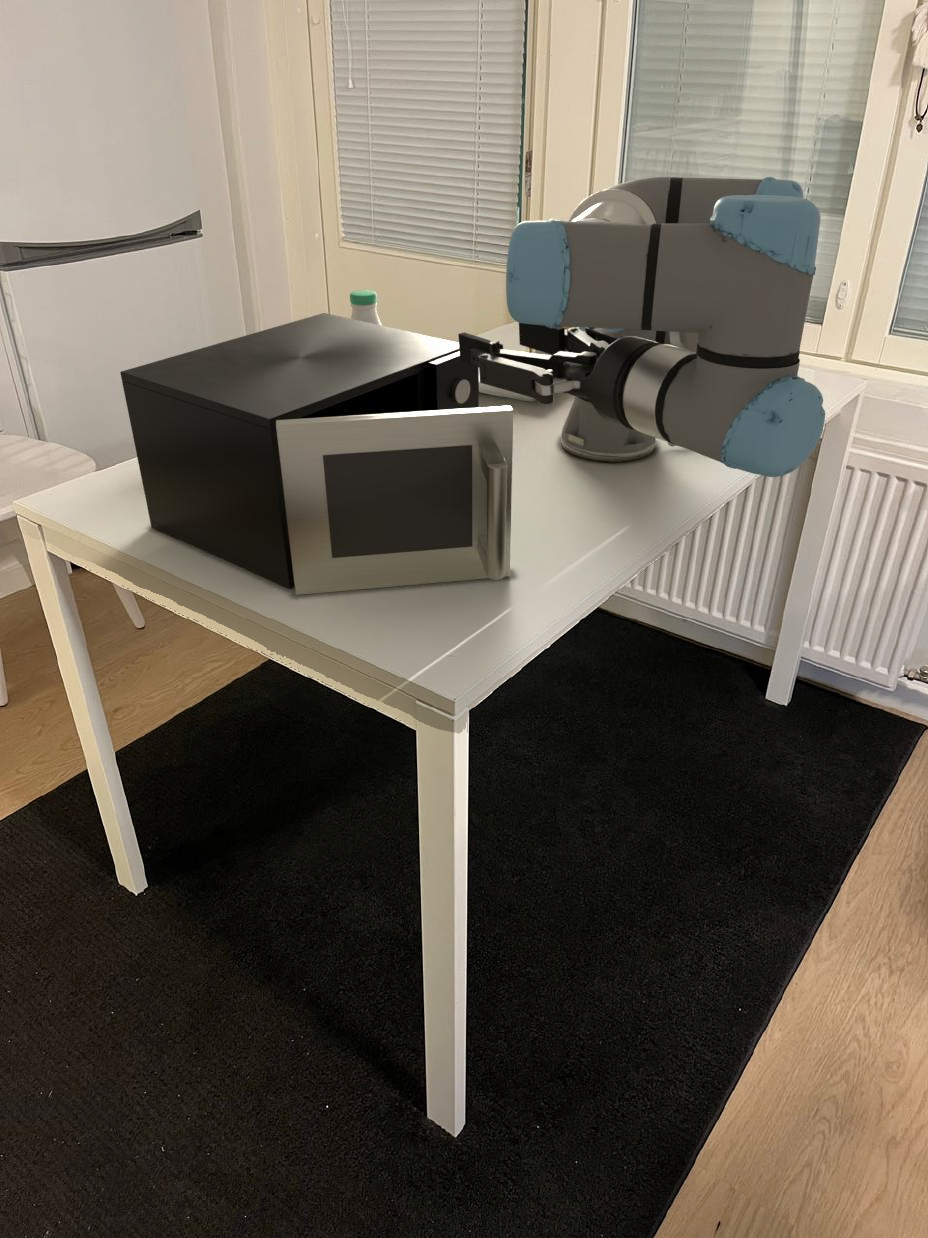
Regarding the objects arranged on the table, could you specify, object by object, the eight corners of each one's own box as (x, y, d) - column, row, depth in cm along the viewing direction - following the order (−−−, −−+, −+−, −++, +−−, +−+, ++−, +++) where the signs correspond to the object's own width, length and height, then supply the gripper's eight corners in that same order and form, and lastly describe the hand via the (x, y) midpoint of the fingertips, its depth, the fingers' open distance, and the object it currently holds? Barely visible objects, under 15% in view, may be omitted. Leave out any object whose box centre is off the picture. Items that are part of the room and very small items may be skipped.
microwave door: (521, 605, 114) (527, 432, 102) (296, 626, 110) (275, 449, 98) (507, 570, 121) (510, 405, 109) (295, 588, 117) (276, 420, 106)
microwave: (482, 497, 140) (483, 347, 128) (303, 596, 116) (284, 423, 104) (335, 449, 156) (324, 312, 144) (151, 527, 132) (119, 371, 120)
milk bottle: (341, 409, 172) (332, 295, 161) (360, 395, 178) (353, 285, 167) (379, 414, 169) (373, 299, 159) (398, 400, 176) (393, 289, 165)
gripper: (561, 460, 79) (414, 397, 95) (728, 402, 88) (567, 353, 104) (560, 371, 75) (407, 321, 91) (734, 320, 84) (566, 282, 100)
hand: (492, 338), depth 98 cm, fingers open, 7 cm apart
